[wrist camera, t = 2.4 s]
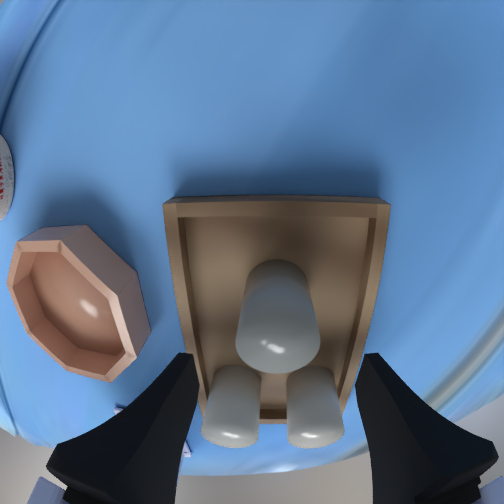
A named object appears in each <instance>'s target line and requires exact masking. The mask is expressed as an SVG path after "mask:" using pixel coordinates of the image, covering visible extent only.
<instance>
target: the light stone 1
mask: <svg viewBox="0 0 504 504" xmlns="http://www.w3.org/2000/svg"><path fill="white" fill-rule="evenodd" d="M260 399H261V378H260V376H259V375H258V374H257V373H256V372H255V371H254V370H252V369H250V368H248V367H245V366H240V365H228V366H224V367H221V368H219V369H218V370H217V371H216V372H215V373H214V375H213V379H212V383H211V388H210V392H209V396H208V401H207V405H206V409H205V414H204V418H203V422H202V427H201V434H202V436H203V437H204V438H205V439H206V440H208V441H209V442H211V443H213V444H216V445H219V446H223V447H228V448H243V447H248V446H251V445H253V444H254V443H256V442H257V440H258V432H259V416H260Z"/></svg>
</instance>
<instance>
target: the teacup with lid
mask: <svg viewBox="0 0 504 504" xmlns="http://www.w3.org/2000/svg"><path fill="white" fill-rule="evenodd" d="M13 192H14V168H13V161H12V156H11V152H10V149H9V147H8V144H7V143H6V141H5V139H4V138H3V137H2V136H1V135H0V220H2V219H3V218H4V217H5V216H6V214H7V213H8V211H9V208H10V206H11V202H12V198H13Z"/></svg>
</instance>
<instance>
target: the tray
mask: <svg viewBox="0 0 504 504" xmlns="http://www.w3.org/2000/svg"><path fill="white" fill-rule="evenodd" d="M390 206H391V205H390V204H389V203H387V202H386V201H384V200H382V199H380V198H373V197H353V196H326V195H218V196H190V197H173V198H171V199H169V200H168V201H166V202H165V203H163V213H164V222H165V231H166V238H167V246H168V253H169V260H170V267H171V273H172V280H173V286H174V292H175V297H176V303H177V309H178V314H179V319H180V324H181V329H182V334H183V339H184V344H185V348H186V353H189V354H193V356H194V361H195V365H196V370H197V374H198V379H199V383H200V387H199V393H198V402H199V406H200V409H201V413H202V417H203V418H204V414H205V409H206V405H207V401H208V396H209V392H210V388H211V383H212V379H213V375H214V373H215V372H216V371H217V370H218V369H219V368H221V367H224V366H228V365H240V366H245V367H248V368H250V369H252V370H254V371H255V372H256V373H257V374H258V375H259V376H260V378H261V399H260V416H259V424H287V400H286V380H287V378H288V376H289V375H290V374H291V373H292V372H293V371H292V372H288V373H281V374H273V373H266V372H262V371H259V370H256V369H254V368H252V367H250V366H249V365H247V364H246V363H245V362H244V361H243V360H242V359H241V357H240V356H239V354H238V352H237V349H236V335H237V329H238V324H239V318H240V312H241V306H242V301H243V295H244V289H245V283H246V279H247V277H248V275H249V273H250V272H251V270H252V269H253V268H254V267H256V266H257V265H258V264H260V263H262V262H264V261H268V260H272V259H282V260H287V261H290V262H292V263H294V264H296V265H297V266H298V267H300V268H301V269H302V271H303V272H304V273H305V275H306V277H307V281H308V285H309V289H310V293H311V298H312V302H313V307H314V311H315V316H316V320H317V325H318V329H319V334H320V347H319V350H318V353H317V354H316V356H315V357H314V358H313V360H312V361H310V362H309V363H308V364H307V365H305V366H311V365H318V366H323V367H326V368H328V369H329V370H331V371H332V373H333V375H334V379H335V384H336V389H337V394H338V399H339V404H340V409H341V414H343V411H344V409H345V406H346V403H347V400H348V398H349V395H350V392H351V389H352V386H353V383H354V380H355V377H356V373H357V370H358V367H359V364H360V360H361V357H362V353H363V350H364V346H365V342H366V339H367V335H368V331H369V327H370V323H371V319H372V315H373V310H374V306H375V301H376V297H377V292H378V287H379V282H380V276H381V271H382V265H383V259H384V253H385V247H386V240H387V232H388V224H389V216H390ZM305 366H304V367H305Z"/></svg>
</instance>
